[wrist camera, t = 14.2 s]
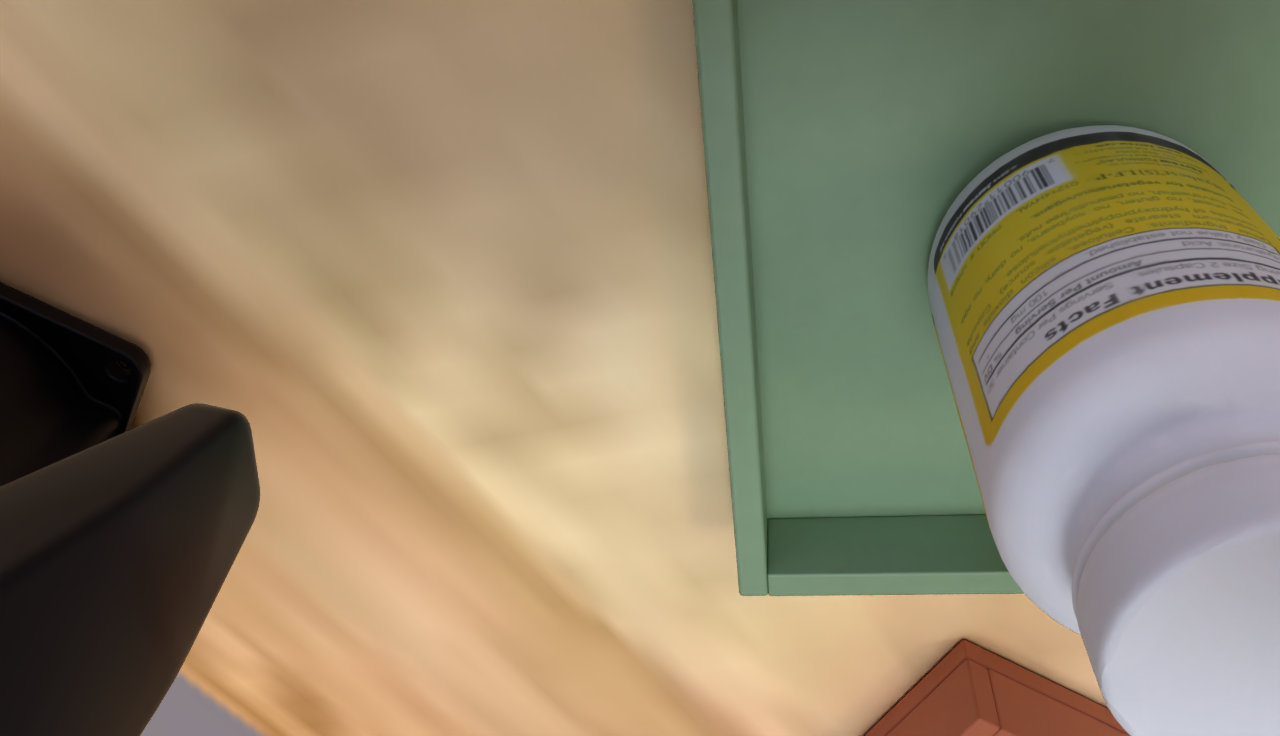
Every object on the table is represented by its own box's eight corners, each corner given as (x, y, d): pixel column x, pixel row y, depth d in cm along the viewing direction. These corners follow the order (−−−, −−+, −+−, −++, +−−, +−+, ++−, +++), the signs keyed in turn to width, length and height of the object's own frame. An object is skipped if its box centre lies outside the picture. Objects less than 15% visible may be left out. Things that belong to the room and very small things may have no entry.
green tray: (741, 521, 25) (739, 597, 23) (695, -105, 18) (686, -74, 16) (1376, 510, 24) (1432, 590, 22) (1590, -189, 17) (1704, -167, 15)
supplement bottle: (1202, 383, 22) (1469, 833, 13) (913, 381, 22) (999, 812, 14) (1271, 109, 19) (1664, 470, 11) (937, 116, 19) (1063, 463, 11)
